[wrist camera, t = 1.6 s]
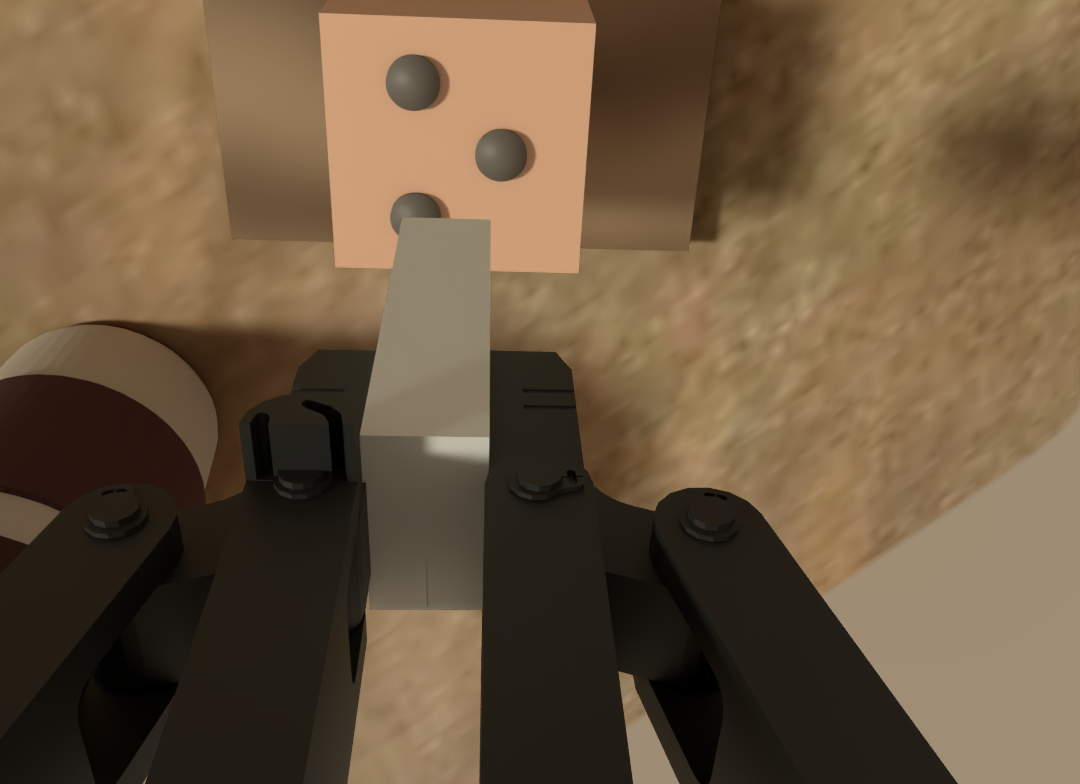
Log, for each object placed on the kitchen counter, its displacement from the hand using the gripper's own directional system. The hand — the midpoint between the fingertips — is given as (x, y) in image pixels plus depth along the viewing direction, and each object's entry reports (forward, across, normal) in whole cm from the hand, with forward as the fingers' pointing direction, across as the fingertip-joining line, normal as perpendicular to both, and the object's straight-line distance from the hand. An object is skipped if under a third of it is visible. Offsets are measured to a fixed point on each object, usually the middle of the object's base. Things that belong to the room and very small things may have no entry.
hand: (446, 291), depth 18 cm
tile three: (+10, 0, 0) cm, 10 cm away
